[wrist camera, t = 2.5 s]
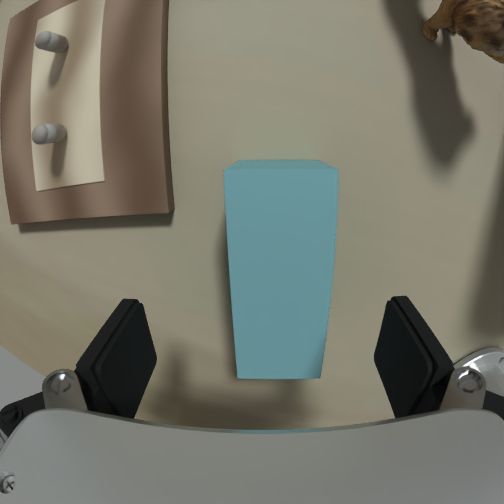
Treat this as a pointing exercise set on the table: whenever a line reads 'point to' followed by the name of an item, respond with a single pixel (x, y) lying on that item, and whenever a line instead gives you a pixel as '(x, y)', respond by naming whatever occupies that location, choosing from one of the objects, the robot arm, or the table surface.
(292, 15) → the table surface
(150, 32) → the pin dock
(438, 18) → the lion figurine
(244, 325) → the block
